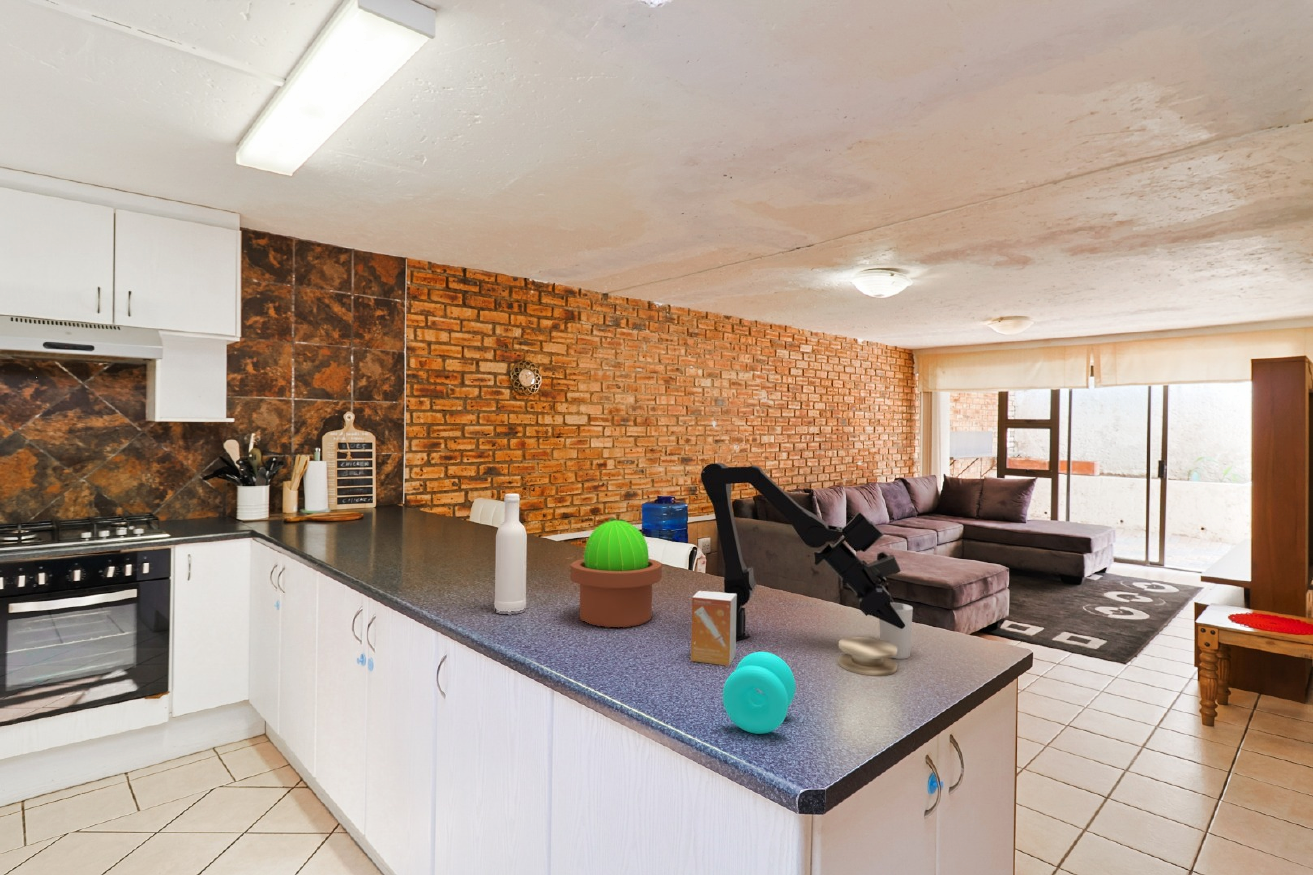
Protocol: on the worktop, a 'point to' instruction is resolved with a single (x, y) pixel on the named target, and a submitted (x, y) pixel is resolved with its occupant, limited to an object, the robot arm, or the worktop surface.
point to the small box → (713, 627)
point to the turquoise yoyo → (750, 704)
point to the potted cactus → (616, 576)
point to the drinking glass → (899, 631)
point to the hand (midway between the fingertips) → (902, 623)
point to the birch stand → (867, 656)
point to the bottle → (511, 559)
